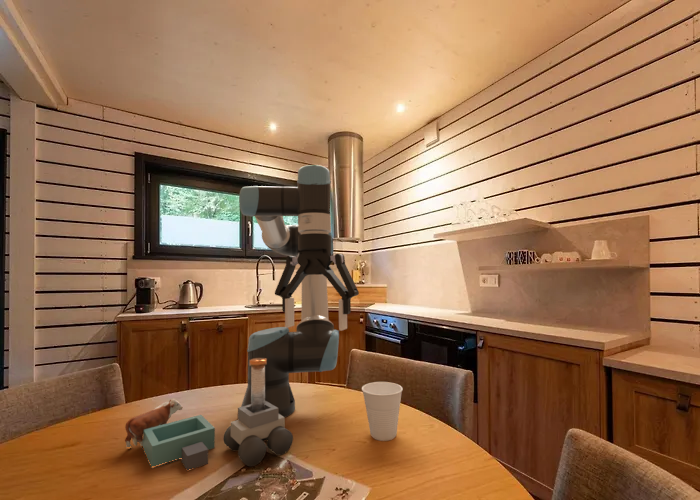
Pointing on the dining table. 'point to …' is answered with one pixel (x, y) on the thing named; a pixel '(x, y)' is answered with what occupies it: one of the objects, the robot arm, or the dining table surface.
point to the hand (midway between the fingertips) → (315, 328)
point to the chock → (194, 455)
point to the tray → (176, 438)
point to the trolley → (258, 434)
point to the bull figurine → (150, 421)
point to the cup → (382, 408)
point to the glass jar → (258, 384)
